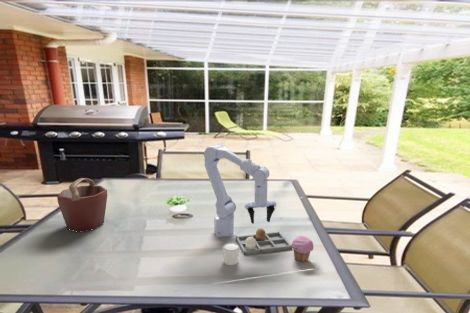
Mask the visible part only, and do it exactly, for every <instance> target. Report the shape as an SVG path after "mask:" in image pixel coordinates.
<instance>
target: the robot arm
mask: <svg viewBox="0 0 470 313" xmlns="http://www.w3.org/2000/svg"><path fill="white" fill-rule="evenodd" d="M203 156H204V167H205V171H206V173H207V175H208V178H209V180H210V181H209V182H210V184H211V186H212V190H213V193H214V195H215V197H216V202H215V208H216V210H215V212H216V214H217V216H214V223H213V225H214V230H213V231H214V233H215V236H216V238H221V237H229V236H230V237H231V236H237V233H236V232H235V227H234V226H235V224H234V223H235V222H234V221H235V220H234V219H235V216H234V214H235V211H237V205H236V203H235V202H234V200H233V199H232V197H231V196H229V195H228V192H227V190H226V188H225V187H226V186H225V185H224V182H223V180H222V176H221V174H220V171H219V168H218V163H219V161H220V160H221V159H225V160H228V161H230V162H232V163H234V164H235V165H237V166H239V168H240V170H241V171H243V172H244V173H245V174H247V175H249V176H251V177H252V179H253V181H254V198H253V199H254V200H253V201H252V202H248V203H244V209H245V210H247V213H248V215H249V218H250V223H251V225H252V224H253V225H254V223H255V212H256V211H255V210H254V209H257V208H260V209H261V208H262V209H264V208H266V221H267V223H270V222H271V217H272V215H273V214H274V212H275V210H276V207H277V202H276V201H275V200H273V201H270V200H269V201H268V178H270V177H269V176H270V170H269V169H268V168H267V167H266V166H261V165H260V164H256V163H255V162H253V160H252V159H251V158H249V159H248V158H245V159H243V158H242V157H240V156H238V155H237V154H236V153H234V152H233V151H232V150H230V149H229V148H227V146H224V145H222V143H219V144H218V143H217V144H216V145H212V146H211V145H210V146H207V147H206V148H205V150H204V152H203Z"/></svg>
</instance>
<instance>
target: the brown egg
mask: <svg viewBox="0 0 470 313" xmlns="http://www.w3.org/2000/svg"><path fill="white" fill-rule="evenodd" d="M265 233H266V231H265V229H264V228H257V229H256V232H255V234H256V241H264V240H265Z"/></svg>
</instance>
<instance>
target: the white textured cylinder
mask: <svg viewBox="0 0 470 313" xmlns="http://www.w3.org/2000/svg"><path fill="white" fill-rule="evenodd" d="M222 254H223V255H222V256H223V263H224V264H225V265H228V266H235V265H237V264H238V263H239V258H240V256H239V254H240V246H239V244H238V243H235V242H234V243H233V242H229V243H228V242H227V243H225V244H223V246H222Z"/></svg>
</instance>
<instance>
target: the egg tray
mask: <svg viewBox="0 0 470 313" xmlns="http://www.w3.org/2000/svg"><path fill="white" fill-rule="evenodd" d="M248 237H253V238H254V239H255V241H256V233H255V234H248V235H247V234H246V235H238V236H237V235H235V241H236V244H237V245H239V249H240V250H241V252H242V253H243V255H244V256H247V255H248V256H250V255H255V254H264V253H265V254H266V253H272V252H279V251H280V252H281V251H288V250H293V248H292V246H291V245H292V243H290V242H289V240H287V238H286V237H285V236H284V234H282V233H281V231H273V232H272V231H271V232H265V240H264V241H256V249H255V250H247V251H246V239H247V238H248Z"/></svg>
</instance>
